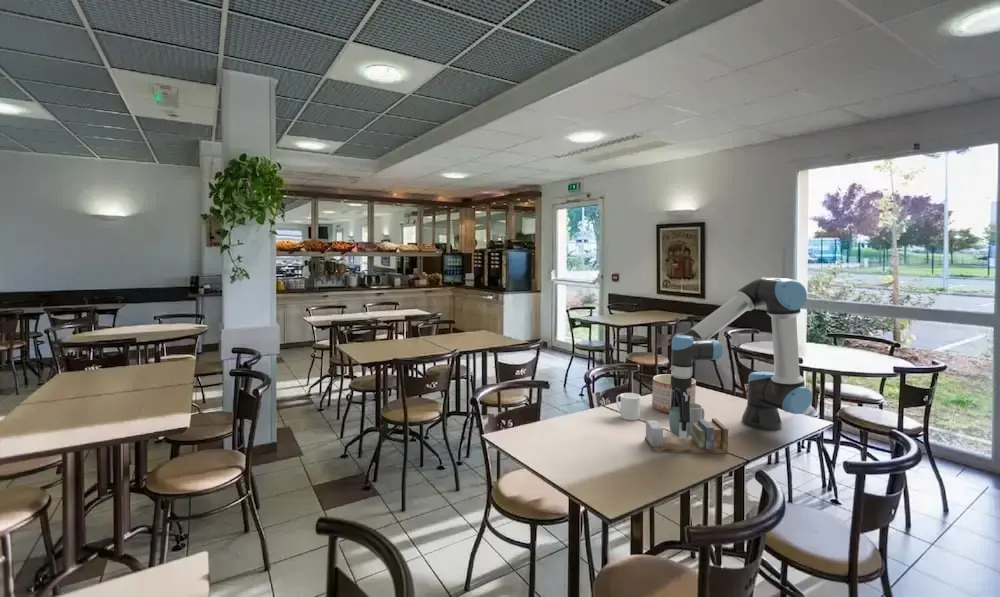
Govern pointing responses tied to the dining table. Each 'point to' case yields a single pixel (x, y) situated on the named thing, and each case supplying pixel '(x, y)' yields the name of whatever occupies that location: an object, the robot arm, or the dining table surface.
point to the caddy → (698, 439)
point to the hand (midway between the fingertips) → (678, 434)
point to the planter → (667, 392)
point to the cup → (676, 421)
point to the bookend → (654, 433)
